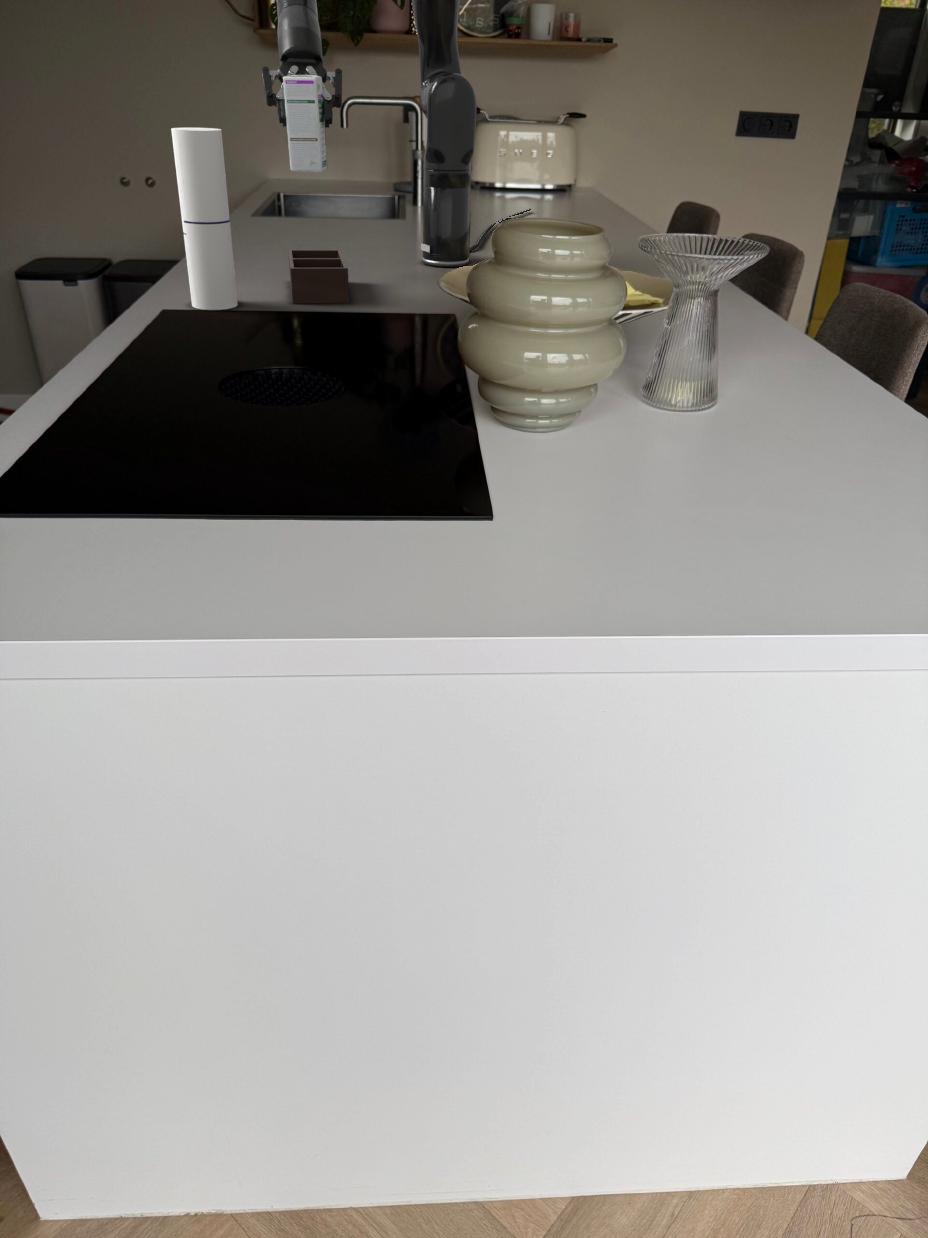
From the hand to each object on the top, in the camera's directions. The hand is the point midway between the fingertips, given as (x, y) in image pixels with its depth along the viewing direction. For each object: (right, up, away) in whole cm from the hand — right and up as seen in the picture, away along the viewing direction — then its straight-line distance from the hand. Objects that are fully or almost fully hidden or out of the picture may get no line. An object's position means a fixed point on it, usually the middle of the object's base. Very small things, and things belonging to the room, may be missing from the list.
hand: (306, 123), depth 156 cm
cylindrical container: (-13, -34, -9) cm, 38 cm away
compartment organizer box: (+2, -28, +2) cm, 28 cm away
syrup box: (0, -6, +5) cm, 8 cm away
